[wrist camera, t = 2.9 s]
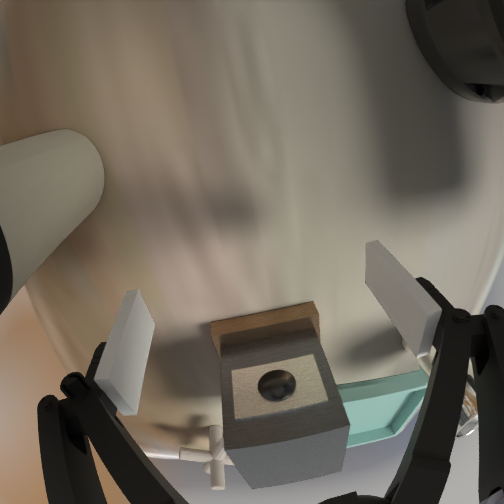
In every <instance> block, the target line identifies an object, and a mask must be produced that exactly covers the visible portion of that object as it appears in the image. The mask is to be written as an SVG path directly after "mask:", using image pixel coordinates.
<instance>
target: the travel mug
mask: <svg viewBox="0 0 504 504" xmlns="http://www.w3.org/2000/svg"><path fill="white" fill-rule="evenodd" d="M103 188H104V168H103V163H102V160H101V157H100V155H99V153H98V151H97V149H96V148H95V146H94V145H93V144H92V142H91V141H90V140H89V139H88V138H86V137H85V136H84V135H82V134H81V133H79V132H76V131H73V130H69V129H60V130H55V131H51V132H47V133H43V134H39V135H35V136H32V137H28V138H25V139H21V140H18V141H15V142H11V143H8V144H5V145H2V146H0V314H1V313H2V312H3V311H4V309H5V308H6V307H7V305H8V304H9V303H10V302H11V300H12V299H13V298H14V296H15V295H16V294H17V293H18V291H19V290H20V289H21V288H22V286H23V285H24V284H25V283H26V282H27V281H28V279H29V278H30V277H31V276H32V275H33V273H34V272H35V271H36V270H37V269H38V268H39V267H40V265H41V264H42V263H43V262H44V261H45V260H46V259H47V258H48V256H49V255H50V254H51V253H52V252H53V251H54V250H55V249H56V248H57V247H58V246H59V245H60V244H61V242H62V241H63V240H64V239H65V238H66V237H67V236H68V235H69V234H70V233H71V232H72V231H73V230H74V229H75V228H76V227H77V226H78V225H79V224H80V223H81V222H82V221H83V220H84V219H85V218H86V217H87V216H88V215H89V214H90V213H91V212H92V211H93V210H94V209H95V208H96V206H97V205H98V203H99V201H100V199H101V196H102V193H103Z"/></svg>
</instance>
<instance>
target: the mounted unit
mask: <svg viewBox="0 0 504 504" xmlns="http://www.w3.org/2000/svg"><path fill="white" fill-rule="evenodd" d="M211 338H212V340H213V343H214V346H215V348H216V351H217V354H218V356H219V359H220V362H221V391H222V416H223V437H224V451H225V452H226V454H227V455H228V457H229V458H230V460H231V461H232V462H233V464H234V465H235V467H236V468H237V469H238V471H239V472H240V474H241V475H242V476H243V478H244V479H245V480H246V482H247V483H248V484H249V486H250V487H251V488H252V489H256V488H264V487H270V486H277V485H282V484H288V483H293V482H298V481H303V480H308V479H312V478H316V477H321V476H325V475H328V474H332V473H336V472H339V471H341V470H342V466H343V461H344V456H345V451H346V447H347V442H348V436H349V431H350V422H349V419H348V416H347V414H346V411H345V408H344V405H343V402H342V400H341V397H340V394H339V391H338V389H337V386H336V383H335V381H334V378H333V375H332V372H331V370H330V367H329V364H328V362H327V359H326V356H325V354H324V351H323V349H322V346H321V343H320V327H319V314H318V311H317V309H316V307H315V304H314V302H308V303H304V304H299V305H295V306H290V307H286V308H281V309H276V310H271V311H267V312H262V313H257V314H252V315H247V316H241V317H236V318H231V319H226V320H220V321H214V322H211Z"/></svg>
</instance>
